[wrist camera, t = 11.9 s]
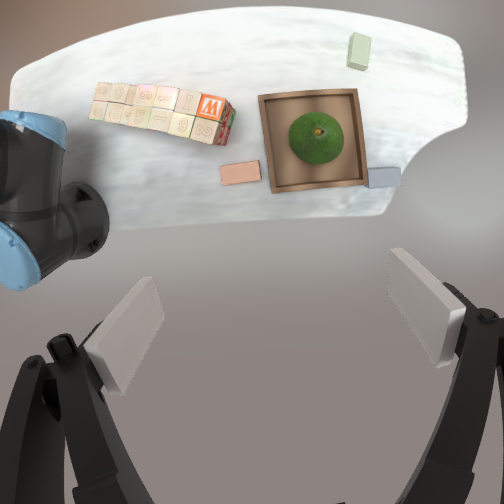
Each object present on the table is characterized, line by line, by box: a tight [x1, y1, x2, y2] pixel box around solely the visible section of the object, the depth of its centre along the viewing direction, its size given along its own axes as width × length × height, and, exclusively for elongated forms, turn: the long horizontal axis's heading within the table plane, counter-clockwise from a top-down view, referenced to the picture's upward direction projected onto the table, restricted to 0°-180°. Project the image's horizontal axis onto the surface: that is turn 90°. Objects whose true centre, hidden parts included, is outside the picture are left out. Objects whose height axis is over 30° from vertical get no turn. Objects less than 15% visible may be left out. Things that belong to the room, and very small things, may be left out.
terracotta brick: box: [220, 160, 261, 185], centre depth 46 cm, size 6×3×3 cm, turn 98°
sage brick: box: [346, 32, 371, 71], centre depth 38 cm, size 6×3×3 cm, turn 170°
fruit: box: [289, 112, 344, 164], centre depth 39 cm, size 8×8×12 cm
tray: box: [258, 89, 368, 193], centre depth 43 cm, size 16×16×3 cm
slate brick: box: [364, 167, 402, 188], centre depth 45 cm, size 6×3×3 cm, turn 98°
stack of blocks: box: [88, 82, 236, 146], centre depth 39 cm, size 21×6×12 cm, turn 73°
